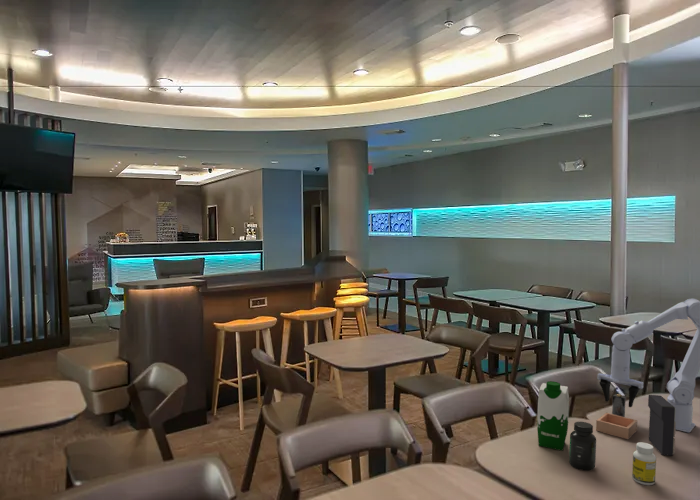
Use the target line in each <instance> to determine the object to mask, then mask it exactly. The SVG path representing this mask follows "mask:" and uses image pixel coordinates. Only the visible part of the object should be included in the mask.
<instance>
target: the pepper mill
mask: <svg viewBox="0 0 700 500" xmlns="http://www.w3.org/2000/svg"><path fill="white" fill-rule="evenodd" d="M626 398H627V397H626V396H625V395H622V394H621V393H618V394H613V395H612V411H611V414H614V415H618V416H622V417H626Z"/></svg>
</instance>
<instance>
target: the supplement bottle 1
mask: <svg viewBox="0 0 700 500" xmlns="http://www.w3.org/2000/svg"><path fill="white" fill-rule="evenodd" d="M593 432H594V425H593V424H592V423H589V422H586V421H575V422H574V424H573V431H572V432H571V433H570V434H569V452H568V453H569V454H568V455H569V456H568V457H569V458H568V460H569V461H568V462H569V465H570V466H571V467H572V468H575V469H577V470H580V471H585V472H588V471H593V470H594V469H595V468H596V459H597V458H596V456H597V438H596V436H595V435H594V434H593Z"/></svg>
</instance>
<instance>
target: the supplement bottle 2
mask: <svg viewBox="0 0 700 500" xmlns="http://www.w3.org/2000/svg"><path fill="white" fill-rule="evenodd" d="M635 449H636V450H635V451H634V452H633V453H632V474H631V475H632V477H631V478H632V479H633V481H634V482H636V483H638V484H641V485H643V486H644V485H645V486H652V485H654V484H655V483H656V475H657V473H656V469H657V457H656V455H655V454H654V446H653V444H650V443H647V442H641V441H640V442H639V441H638V442H637V443H636V447H635Z"/></svg>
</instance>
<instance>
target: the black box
mask: <svg viewBox="0 0 700 500" xmlns="http://www.w3.org/2000/svg"><path fill="white" fill-rule="evenodd" d="M647 400H648V401H647V402H648V403H647V407H648V408H649V420H648V421H649V425H648V427H649V428H648V441H649V442H650V443H651V445H652V446H653V448H655V449H656V450H657V451H658V452H659V453H660V455H661V456H670V457H673V455H674V454H675V447H676V446H675V442H676V441H675V439H676V438H675V437H676V429H675V426H676V422H675V421H674V420H675V411H676V409H675V407H674V406H673V405H671V404H670V403H669V402H668V401H667V399H666V398H664V397H663V395H656V394H648V399H647Z"/></svg>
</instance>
